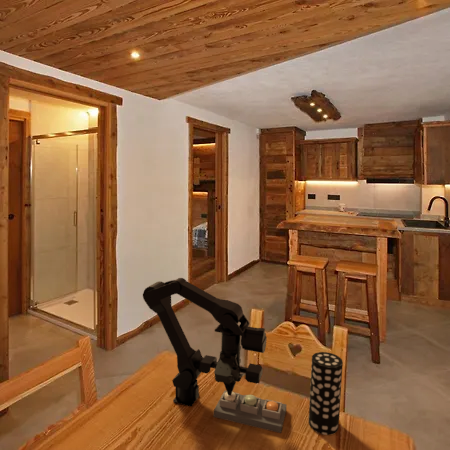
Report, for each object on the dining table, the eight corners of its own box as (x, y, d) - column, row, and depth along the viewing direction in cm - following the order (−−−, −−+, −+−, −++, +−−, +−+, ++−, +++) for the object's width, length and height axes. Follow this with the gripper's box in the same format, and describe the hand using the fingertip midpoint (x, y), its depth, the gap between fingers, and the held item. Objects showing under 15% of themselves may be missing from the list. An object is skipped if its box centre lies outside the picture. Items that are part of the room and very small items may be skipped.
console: (213, 416, 102) (213, 404, 101) (224, 396, 111) (224, 385, 111) (281, 433, 96) (281, 420, 95) (286, 410, 105) (286, 398, 105)
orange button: (265, 413, 100) (265, 407, 100) (267, 406, 103) (267, 400, 103) (276, 416, 99) (277, 409, 99) (278, 408, 102) (279, 402, 102)
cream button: (222, 402, 104) (223, 396, 104) (226, 396, 107) (226, 390, 107) (233, 405, 103) (233, 399, 103) (236, 398, 106) (236, 392, 106)
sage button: (243, 406, 102) (243, 400, 102) (246, 399, 105) (246, 393, 105) (254, 409, 101) (255, 402, 101) (257, 402, 104) (257, 396, 104)
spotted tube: (340, 437, 95) (344, 369, 92) (309, 432, 96) (312, 365, 94) (336, 416, 103) (340, 353, 100) (308, 412, 104) (311, 350, 102)
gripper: (191, 353, 98) (190, 404, 100) (255, 365, 92) (253, 419, 94) (205, 336, 109) (205, 382, 111) (263, 346, 103) (262, 395, 105)
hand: (229, 394), depth 105 cm, fingers closed, pressing on cream button
